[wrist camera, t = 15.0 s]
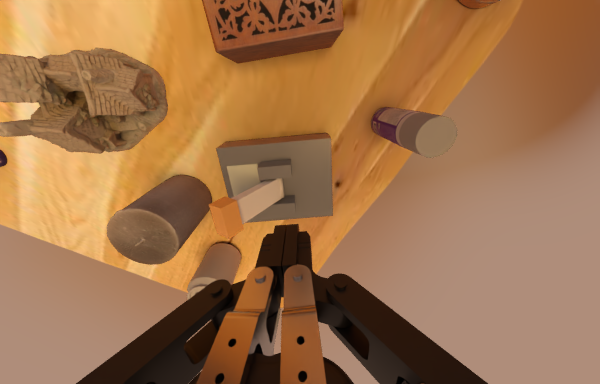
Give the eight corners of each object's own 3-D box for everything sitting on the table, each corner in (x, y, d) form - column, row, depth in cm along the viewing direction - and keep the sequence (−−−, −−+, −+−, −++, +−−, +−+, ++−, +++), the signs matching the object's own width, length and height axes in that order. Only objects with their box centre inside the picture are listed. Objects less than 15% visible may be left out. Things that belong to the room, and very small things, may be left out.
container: (393, 137, 38) (447, 161, 24) (367, 133, 37) (408, 156, 24) (401, 109, 36) (466, 118, 22) (375, 105, 35) (423, 111, 22)
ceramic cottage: (74, 142, 37) (-46, 167, 24) (60, 34, 31) (-110, -17, 18) (169, 163, 40) (111, 196, 26) (173, 68, 34) (102, 47, 20)
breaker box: (225, 141, 38) (208, 153, 30) (326, 132, 37) (334, 142, 30) (241, 209, 44) (230, 233, 36) (329, 202, 43) (335, 224, 36)
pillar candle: (186, 225, 45) (140, 281, 31) (151, 189, 41) (81, 236, 28) (222, 203, 43) (189, 253, 29) (188, 164, 39) (132, 200, 26)
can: (204, 242, 47) (175, 287, 36) (236, 238, 47) (218, 282, 36) (214, 268, 50) (192, 316, 39) (245, 264, 50) (231, 311, 39)
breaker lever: (274, 171, 35) (208, 204, 26) (285, 173, 34) (220, 208, 25) (277, 195, 37) (217, 233, 28) (288, 198, 36) (229, 239, 27)
